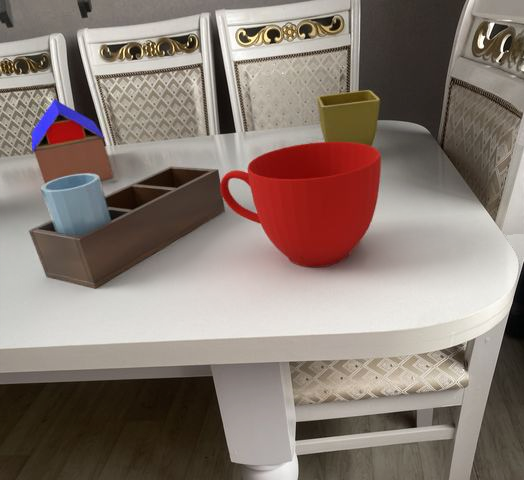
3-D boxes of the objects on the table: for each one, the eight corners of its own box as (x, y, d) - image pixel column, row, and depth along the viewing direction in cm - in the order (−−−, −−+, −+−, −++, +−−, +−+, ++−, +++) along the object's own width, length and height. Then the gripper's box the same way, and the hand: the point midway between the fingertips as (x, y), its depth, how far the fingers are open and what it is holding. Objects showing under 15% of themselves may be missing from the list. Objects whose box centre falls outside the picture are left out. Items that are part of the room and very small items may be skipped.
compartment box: (46, 276, 60) (28, 230, 57) (178, 205, 76) (170, 166, 73) (95, 288, 56) (79, 239, 53) (225, 210, 72) (218, 169, 69)
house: (46, 192, 90) (20, 119, 84) (43, 167, 106) (22, 104, 99) (115, 177, 93) (96, 106, 86) (102, 155, 109) (85, 93, 102)
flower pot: (380, 160, 83) (380, 98, 78) (324, 167, 83) (321, 105, 78) (370, 147, 90) (370, 89, 85) (319, 153, 91) (316, 96, 86)
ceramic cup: (252, 227, 65) (241, 144, 60) (390, 232, 59) (392, 139, 54) (206, 274, 56) (188, 180, 50) (365, 285, 50) (364, 179, 44)
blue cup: (57, 267, 60) (29, 189, 55) (96, 246, 64) (73, 171, 59) (93, 275, 57) (66, 193, 52) (131, 252, 61) (110, 174, 56)
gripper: (-52, -123, 59) (-34, -3, 56) (76, -136, 61) (100, -20, 58) (-21, -59, 66) (-4, 50, 63) (92, -72, 68) (114, 34, 65)
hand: (46, 17), depth 60 cm, fingers open, 8 cm apart
